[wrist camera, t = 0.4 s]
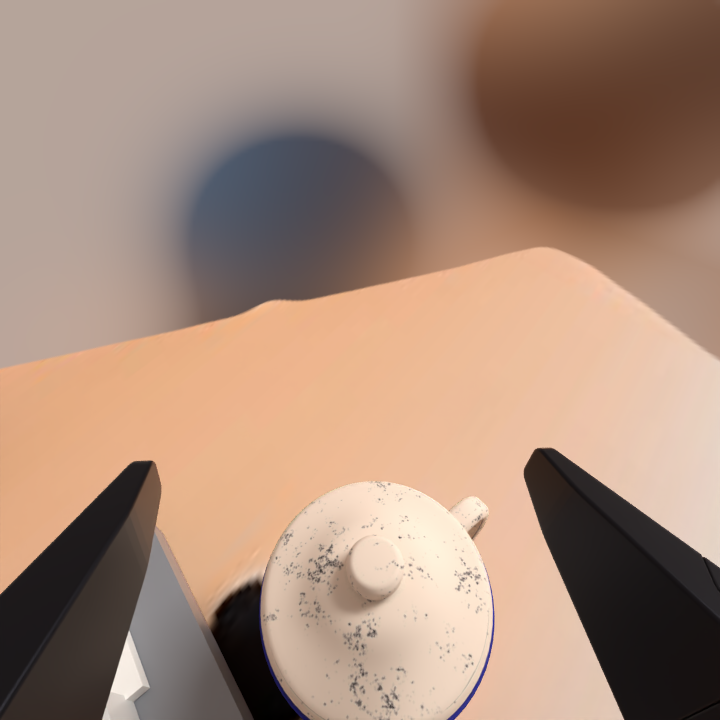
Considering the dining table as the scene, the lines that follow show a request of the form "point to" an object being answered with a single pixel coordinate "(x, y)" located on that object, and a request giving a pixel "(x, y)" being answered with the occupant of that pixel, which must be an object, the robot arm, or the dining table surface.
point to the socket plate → (179, 649)
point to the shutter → (126, 685)
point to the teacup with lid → (378, 606)
